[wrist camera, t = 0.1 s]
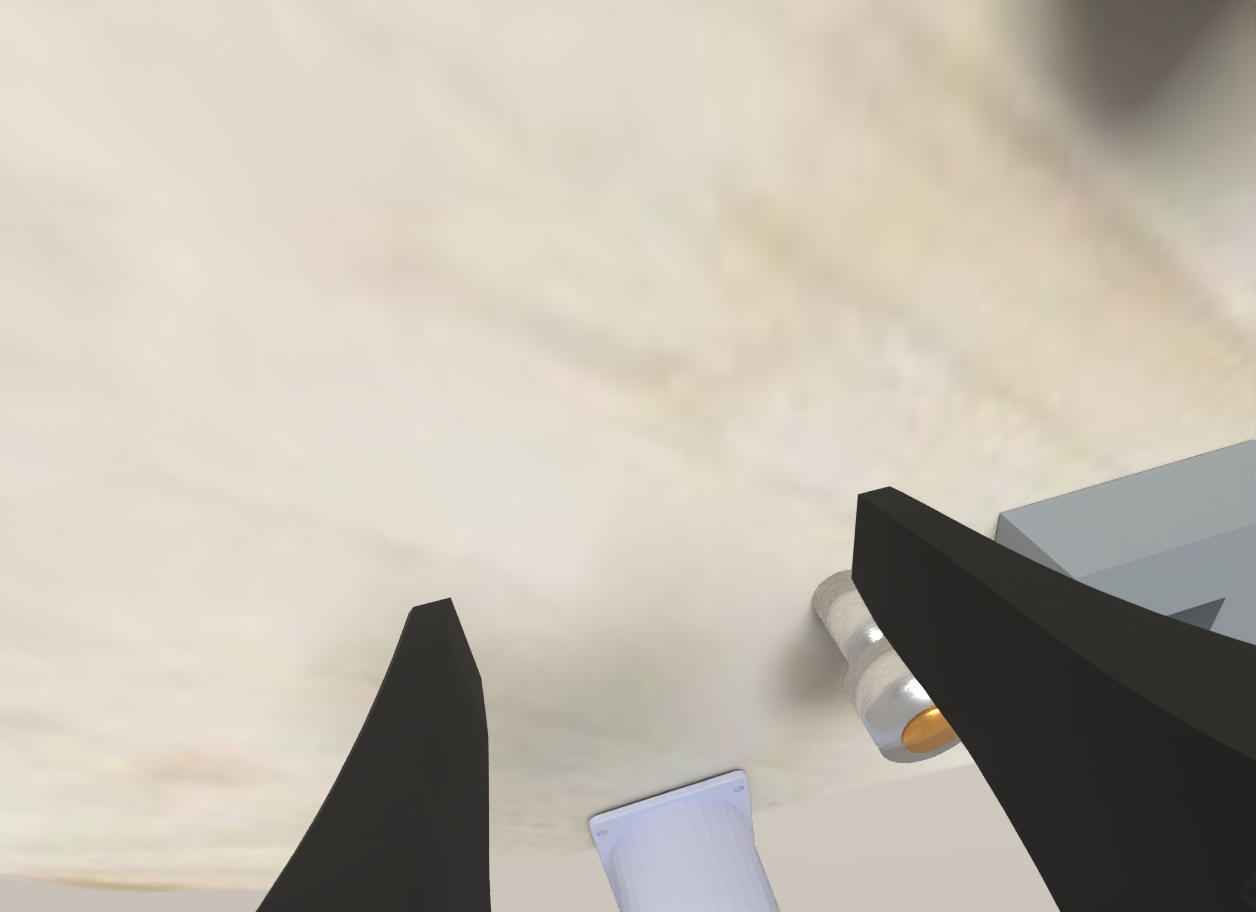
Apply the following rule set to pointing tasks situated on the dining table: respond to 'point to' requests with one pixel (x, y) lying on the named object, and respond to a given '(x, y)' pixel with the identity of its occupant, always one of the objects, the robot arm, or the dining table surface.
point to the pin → (880, 679)
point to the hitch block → (1157, 539)
